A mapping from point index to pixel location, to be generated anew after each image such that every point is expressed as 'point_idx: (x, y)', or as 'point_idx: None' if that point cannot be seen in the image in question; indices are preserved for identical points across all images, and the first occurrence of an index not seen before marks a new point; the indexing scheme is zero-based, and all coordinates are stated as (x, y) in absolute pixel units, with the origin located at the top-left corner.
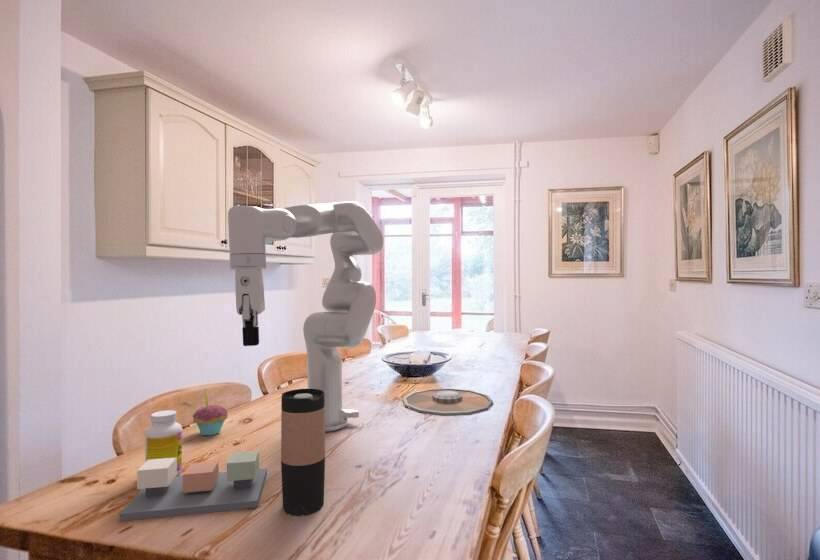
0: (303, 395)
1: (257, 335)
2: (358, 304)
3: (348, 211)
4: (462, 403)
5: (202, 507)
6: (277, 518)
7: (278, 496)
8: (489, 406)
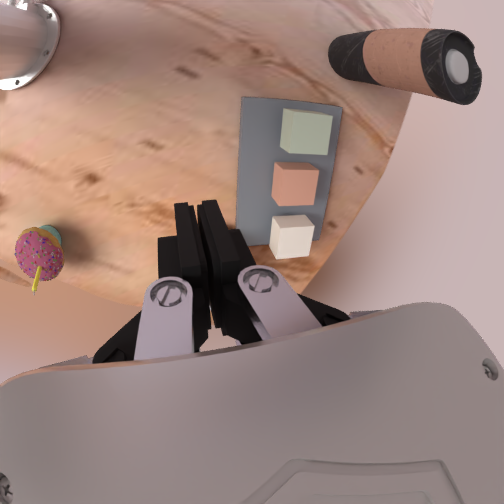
0: (463, 68)
1: (224, 228)
2: None
3: None
4: None
5: (333, 165)
6: (365, 87)
7: (318, 81)
8: None
